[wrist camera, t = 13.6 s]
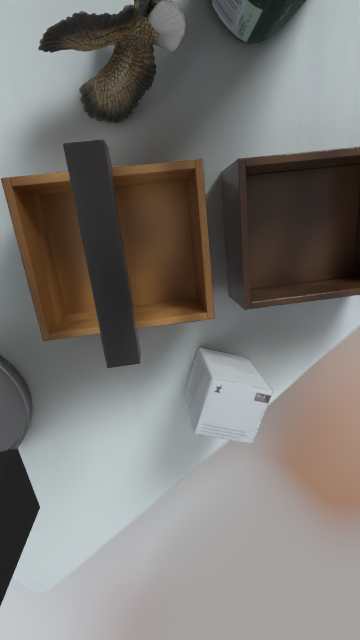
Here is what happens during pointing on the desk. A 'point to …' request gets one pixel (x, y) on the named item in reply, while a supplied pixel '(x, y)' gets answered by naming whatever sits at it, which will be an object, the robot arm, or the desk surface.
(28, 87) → the desk surface
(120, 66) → the eagle figurine
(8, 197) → the box
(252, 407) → the product carton
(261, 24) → the coffee jar
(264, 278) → the dark brown wooden box
